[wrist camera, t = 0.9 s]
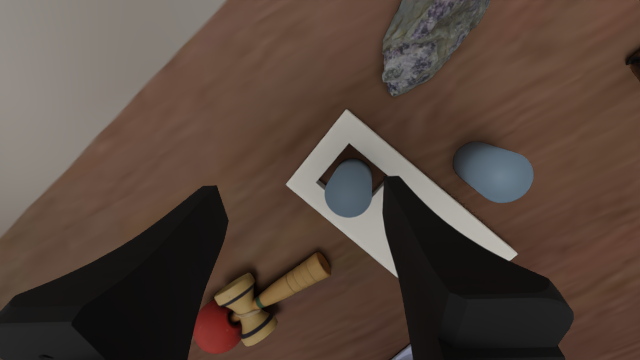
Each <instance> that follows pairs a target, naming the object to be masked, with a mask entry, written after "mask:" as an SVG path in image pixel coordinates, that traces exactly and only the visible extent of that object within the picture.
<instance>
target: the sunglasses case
mask: <svg viewBox="0 0 640 360" xmlns="http://www.w3.org/2000/svg"><path fill="white" fill-rule="evenodd" d="M626 65H629V66H630V68H631V69H632V72H633V73H634V74H635V76H636V77H637V79H638V80H639V81H640V51H638V52H637V53H636V54H634V55H633V56H632V57H631V58H630V59H629V61H628V62H627V64H626Z"/></svg>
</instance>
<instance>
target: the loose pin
mask: <svg viewBox="0 0 640 360" xmlns="http://www.w3.org/2000/svg"><path fill="white" fill-rule="evenodd" d="M453 167H454V170H455V172H456V174H457V175H458V176H459V177H460V178H461V179H463V180H464V181H465V182H466V183H468V184H469V185H470V186H471V187H473V188H474V189H475V190H476V191H478V192H479V193H480V194H481V195H483V196H484V197H485V198H487V199H489V200H491V201H493V202H498V203H506V202H511V201H514V200H516V199H518V198H520V197H522V196H523V195H524V194H525V193H526V192H527V191H528V190H529V188H530V186H531V184H532V181H533V169H532V166H531V164H530V162H529V161H528V160H527V159H526V158H525V157H524V156H522V155H520V154H518V153H515V152H512V151H508V150H505V149H502V148H499V147H496V146H493V145H489V144H486V143H483V142H470V143H467V144H465V145H463V146H462V147H461V148H460V149H459V150H458V151H457V152H456V154H455V156H454V159H453Z"/></svg>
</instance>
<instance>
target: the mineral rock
mask: <svg viewBox="0 0 640 360" xmlns="http://www.w3.org/2000/svg"><path fill="white" fill-rule="evenodd" d="M489 4H490V0H402V1H401V3H400V6H399V8H398V11H397V13H396V14H395V16H394V18H393V20H392V22H391V24H390V27H389V29H388V31H387V32H386V34H385V37H384V39H383V51H382V54H384V65H385V66H384V72H383V73H382V78H383V82H387V83H388V89H387V90H388V92H390V93H391V95H392V96H398V95H401V94H403V93H407V92H408V91H410V90H411V89H413V88H415V86H417V85H419V84H423V83H425V82H427V81H428V80H429V79H431V78H432V77H433V76H434V74H435V73H436V72H437V71H438V70H439V69H440V68H441V67H442V66H443V64H444V63H445V62H446V61H447V60H449V58H450V57H451V53H452V52H453V51H455V50H456V49H457V48H458V47H459V45H460V44H461V43H462V41H463V40H464V39H465V37H466V36H467V35H468V33H469V32H470V30H471V29H472V28H475V27H476V26H477V25H478V23H479V22H480V20H481V19H482V17H483V15H484V13H485V11H486V9H487V8H488V7H489Z"/></svg>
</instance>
